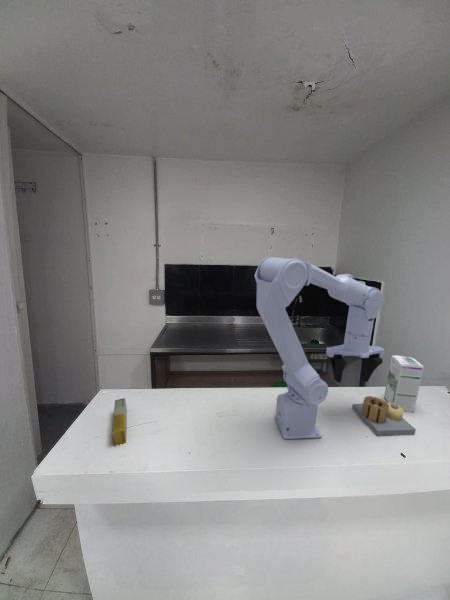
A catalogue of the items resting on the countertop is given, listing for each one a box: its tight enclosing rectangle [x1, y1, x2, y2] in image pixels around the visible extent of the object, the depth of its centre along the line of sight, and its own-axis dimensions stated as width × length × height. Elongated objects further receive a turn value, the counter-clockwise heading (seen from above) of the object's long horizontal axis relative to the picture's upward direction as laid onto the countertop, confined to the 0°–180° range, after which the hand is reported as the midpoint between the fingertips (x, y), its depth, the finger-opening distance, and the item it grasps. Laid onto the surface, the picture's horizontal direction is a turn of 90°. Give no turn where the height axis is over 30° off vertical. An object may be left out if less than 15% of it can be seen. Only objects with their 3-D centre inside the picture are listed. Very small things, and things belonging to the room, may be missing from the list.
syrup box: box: [383, 354, 425, 413], centre depth 67 cm, size 6×6×14 cm
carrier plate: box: [351, 401, 417, 437], centre depth 62 cm, size 10×10×5 cm
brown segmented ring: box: [362, 395, 389, 424], centre depth 61 cm, size 5×5×4 cm
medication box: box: [111, 397, 128, 447], centre depth 58 cm, size 12×3×4 cm, turn 22°
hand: (350, 380), depth 62 cm, fingers open, 7 cm apart
